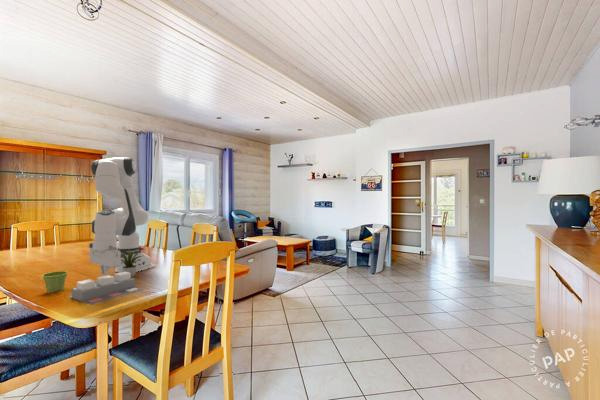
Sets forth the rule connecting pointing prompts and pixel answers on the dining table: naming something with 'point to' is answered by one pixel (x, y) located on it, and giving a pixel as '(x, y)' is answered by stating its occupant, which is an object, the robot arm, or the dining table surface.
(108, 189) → the robot arm
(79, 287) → the key
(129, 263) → the house plant
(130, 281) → the switch panel
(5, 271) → the dining table surface
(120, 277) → the key
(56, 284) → the plant pot
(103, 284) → the key middle
